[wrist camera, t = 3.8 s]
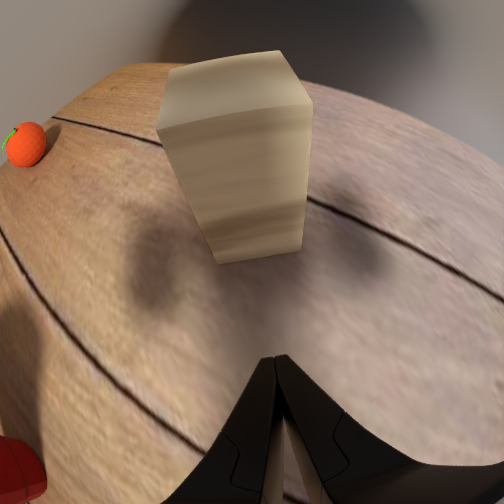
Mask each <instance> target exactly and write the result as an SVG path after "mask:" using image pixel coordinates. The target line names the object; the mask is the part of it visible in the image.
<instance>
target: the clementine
mask: <svg viewBox="0 0 504 504" xmlns="http://www.w3.org/2000/svg"><path fill="white" fill-rule="evenodd" d="M7 140H8V141H7ZM6 141H7V146H6V152H7V156H8V158H9V160H10V162H11V163H12V164H13V165H14V166H17V167H19V168H27V167H30V166H32V165H34V164H35V163H36V162H38V161H39V159H40V158H41V157H42V155H43V154H44V151H45V148H46V135H45V132H44V130H43V128H42V127H41V126H40V125H38V124H36V123H34V122H26V123H22V124H20V125H19V126H17V127H16V128H14V130H13V131H12V133H10V134H9V136H8V137H7V138H6V140H5V142H4V144H5V143H6ZM4 144H3V146H4ZM2 149H3V147H2Z"/></svg>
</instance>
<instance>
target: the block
mask: <svg viewBox="0 0 504 504" xmlns="http://www.w3.org/2000/svg"><path fill="white" fill-rule="evenodd" d="M312 114H313V102H312V101H311V99H310V97H309V96H308V94H307V92H306V91H305V89H304V87H303V86H302V84H301V83H300V81H299V79H298V78H297V76H296V75H295V73H294V72H293V70H292V69H291V67H290V65H289V64H288V63H287V61H286V59H285V58H284V57H283V55H282V53H281V52H280V51H269V52H260V53H252V54H244V55H237V56H232V57H225V58H220V59H214V60H209V61H204V62H199V63H195V64H191V65H186V66H182V67H178V68H175V69H171V70H170V71H169V75H168V79H167V83H166V87H165V91H164V95H163V100H162V104H161V109H160V114H159V118H158V123H157V129H156V131H157V134H158V136H159V138H160V141H161V143H162V145H163V148H164V150H165V152H166V154H167V157H168V159H169V161H170V163H171V166H172V168H173V170H174V172H175V175H176V177H177V179H178V181H179V183H180V186H181V188H182V190H183V192H184V194H185V197H186V199H187V201H188V203H189V205H190V207H191V209H192V212H193V214H194V216H195V218H196V220H197V222H198V224H199V226H200V229H201V231H202V233H203V235H204V237H205V239H206V241H207V243H208V245H209V247H210V249H211V251H212V253H213V256H214V258H215V260H216V262H217V264H218V265H219V264H225V263H231V262H237V261H243V260H249V259H255V258H261V257H267V256H273V255H279V254H285V253H290V252H296V251H301V247H302V238H303V229H304V219H305V209H306V199H307V188H308V176H309V163H310V148H311V133H312Z"/></svg>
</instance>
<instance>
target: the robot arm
mask: <svg viewBox="0 0 504 504" xmlns="http://www.w3.org/2000/svg"><path fill="white" fill-rule="evenodd" d="M282 411H283V412H282ZM283 416H284V421H285V424H286V428H287V431H288V434H289V437H290V441H291V444H292V447H293V450H294V453H295V456H296V460H297V463H298V466H299V469H300V472H301V475H302V478H303V481H304V484H305V488H306V491H307V494H308V497H309V500H310V503H311V504H504V461H503V462H500V463H497V464H493V465H487V466H447V465H431V464H426V463H422V462H419V461H416V460H414V459H412V458H410V457H408V456H407V455H405V454H403V453H402V452H400V451H398V450H397V449H395V448H394V447H392V446H390V445H389V444H387V443H386V442H384V441H383V440H381V439H380V438H378V437H377V436H375V435H374V434H372V433H371V432H369V431H368V430H367V429H365V428H364V427H363V426H362V425H360V424H359V423H358V422H357V421H356V420H354V419H353V418H352V417H351V416H350V415H349V414H348V413H347V412H345V411H344V409H342V408H341V407H340V406H339V405H338V404H337V403H336V402H335V401H334V400H333V399H332V398H331V397H330V396H329V395H328V394H327V393H326V392H325V391H324V390H322V389H321V388H320V387H319V386H318V385H317V384H316V383H315V382H314V381H313V380H312V379H311V378H310V377H309V376H308V375H307V374H306V373H305V372H304V371H303V370H302V369H301V368H300V367H299V366H298V365H297V364H296V363H295V362H294V361H293V360H292V359H291V358H290V357H289V356H288V355H286V354H284V355H278V356H275V357H274V358H273V357H266V358H261V359H260V361H259V363H258V365H257V366H256V368H255V370H254V372H253V374H252V376H251V378H250V380H249V381H248V383H247V385H246V387H245V389H244V391H243V392H242V394H241V396H240V398H239V400H238V402H237V403H236V405H235V407H234V409H233V410H232V412H231V414H230V416H229V417H228V419H227V421H226V423H225V424H224V426H223V428H222V430H221V431H222V432H220V433H219V434H218V436H217V438H216V440H215V441H214V443H213V444H212V446H211V447H210V449H209V450H208V452H207V453H206V455H205V456H204V457H203V459H202V460H201V461H200V462H199V464H198V465H197V466H196V467H195V468H194V470H193V471H192V472H191V473H190V474H189V475H188V477H187V478H186V479H185V480H184V481H183V482H182V483H181V485H180V486H179V487H178V488H177V489H176V490H175V491H174V492H173V493H172V494H171V495H170V496H169V497H168V498H167V499H166V500H165V501H163V502H162V503H160V504H283V455H284V423H283Z"/></svg>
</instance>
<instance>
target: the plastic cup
mask: <svg viewBox="0 0 504 504" xmlns="http://www.w3.org/2000/svg"><path fill="white" fill-rule="evenodd" d="M46 489H47V479H46V475H45V471H44V468H43V466H42V464H41V462H40V460H39V458H38V456H37V455H36V454H35V452H34V451H33V449H32V448H31V447H29V446H28V445H27V444H26V443H24V442H21V441H19V440H16V439H13V438H9V437H5V436H1V435H0V504H25V503H26V502H29V501H31V500H33V499H35V498H38V497H40V496H41V494H43V493H44V492H45V490H46Z"/></svg>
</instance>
